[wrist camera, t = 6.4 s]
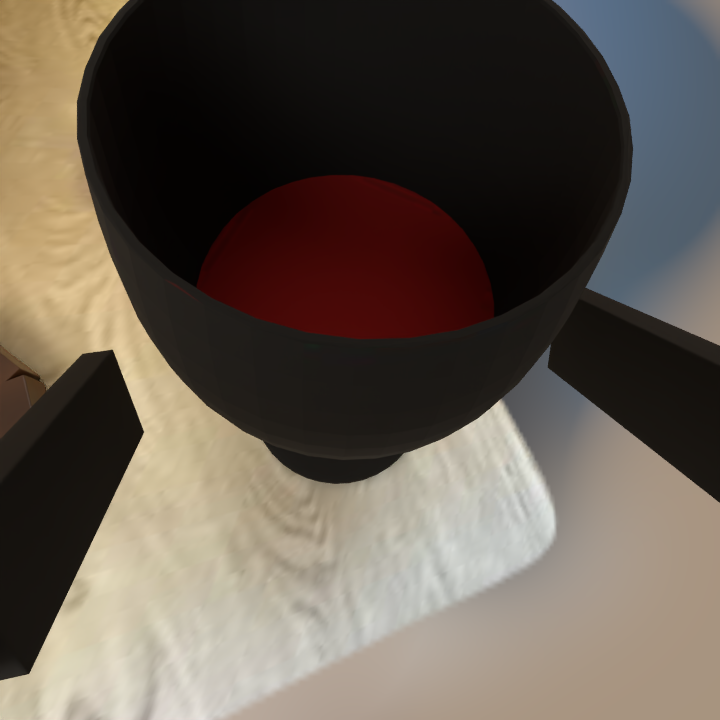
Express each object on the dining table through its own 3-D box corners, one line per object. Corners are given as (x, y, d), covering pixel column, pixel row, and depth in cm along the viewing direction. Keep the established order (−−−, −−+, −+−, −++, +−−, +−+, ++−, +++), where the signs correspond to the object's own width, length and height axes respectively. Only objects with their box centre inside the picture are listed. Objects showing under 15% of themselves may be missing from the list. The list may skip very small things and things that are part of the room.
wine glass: (309, 291, 28) (267, -165, 9) (450, 366, 27) (746, 34, 8) (217, 428, 24) (-170, 173, 5) (373, 519, 23) (562, 594, 4)
